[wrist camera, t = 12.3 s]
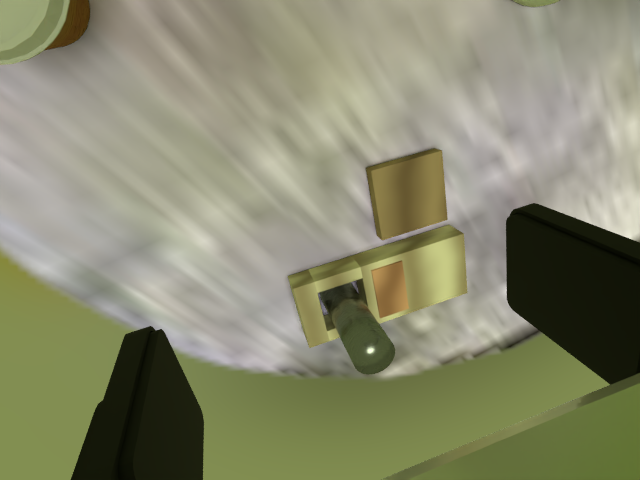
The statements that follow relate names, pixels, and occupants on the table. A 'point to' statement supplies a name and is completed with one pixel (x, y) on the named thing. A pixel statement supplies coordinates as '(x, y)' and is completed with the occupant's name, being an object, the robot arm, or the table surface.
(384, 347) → the peg
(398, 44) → the table surface
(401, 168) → the tab
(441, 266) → the block with square hole
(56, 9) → the disposable coffee cup
